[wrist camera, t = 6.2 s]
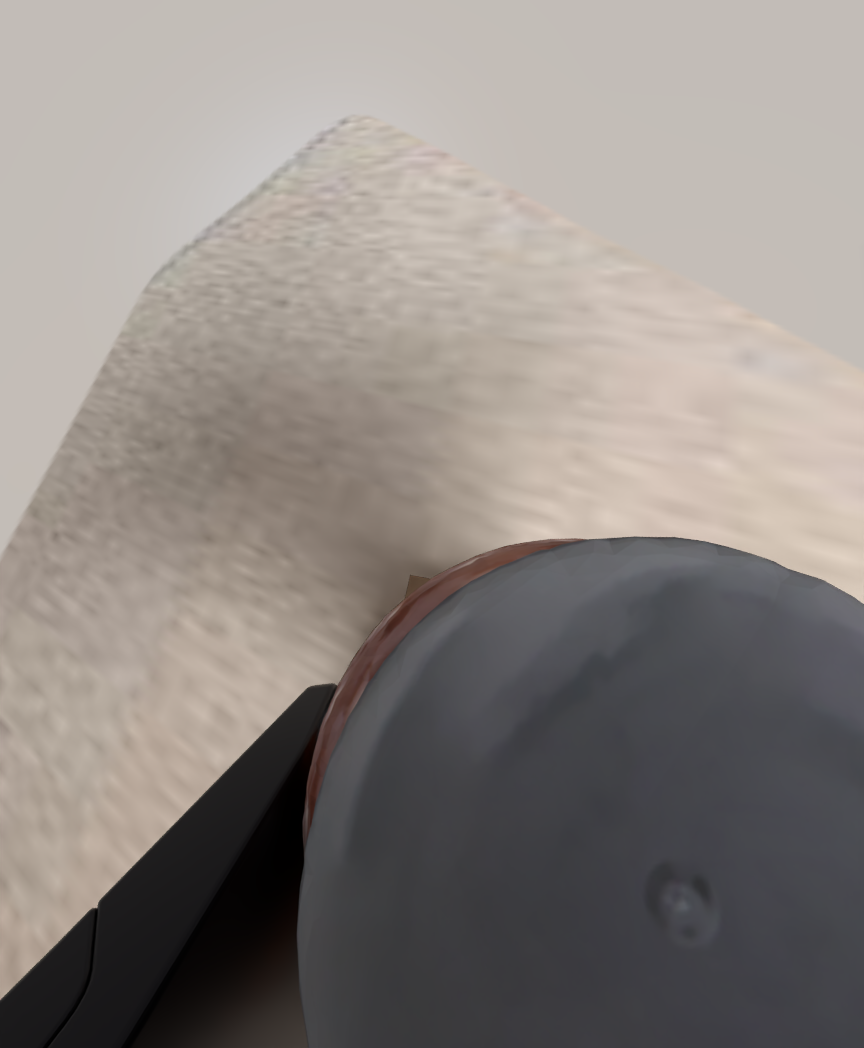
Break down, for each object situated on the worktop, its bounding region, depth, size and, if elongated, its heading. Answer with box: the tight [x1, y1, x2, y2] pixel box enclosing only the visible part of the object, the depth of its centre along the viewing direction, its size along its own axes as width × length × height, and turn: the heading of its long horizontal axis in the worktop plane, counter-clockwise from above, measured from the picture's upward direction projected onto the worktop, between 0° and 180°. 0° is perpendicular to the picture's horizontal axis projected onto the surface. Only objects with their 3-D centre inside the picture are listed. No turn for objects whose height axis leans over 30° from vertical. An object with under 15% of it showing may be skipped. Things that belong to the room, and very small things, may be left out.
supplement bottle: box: [297, 537, 864, 1048], centre depth 8 cm, size 6×6×11 cm
